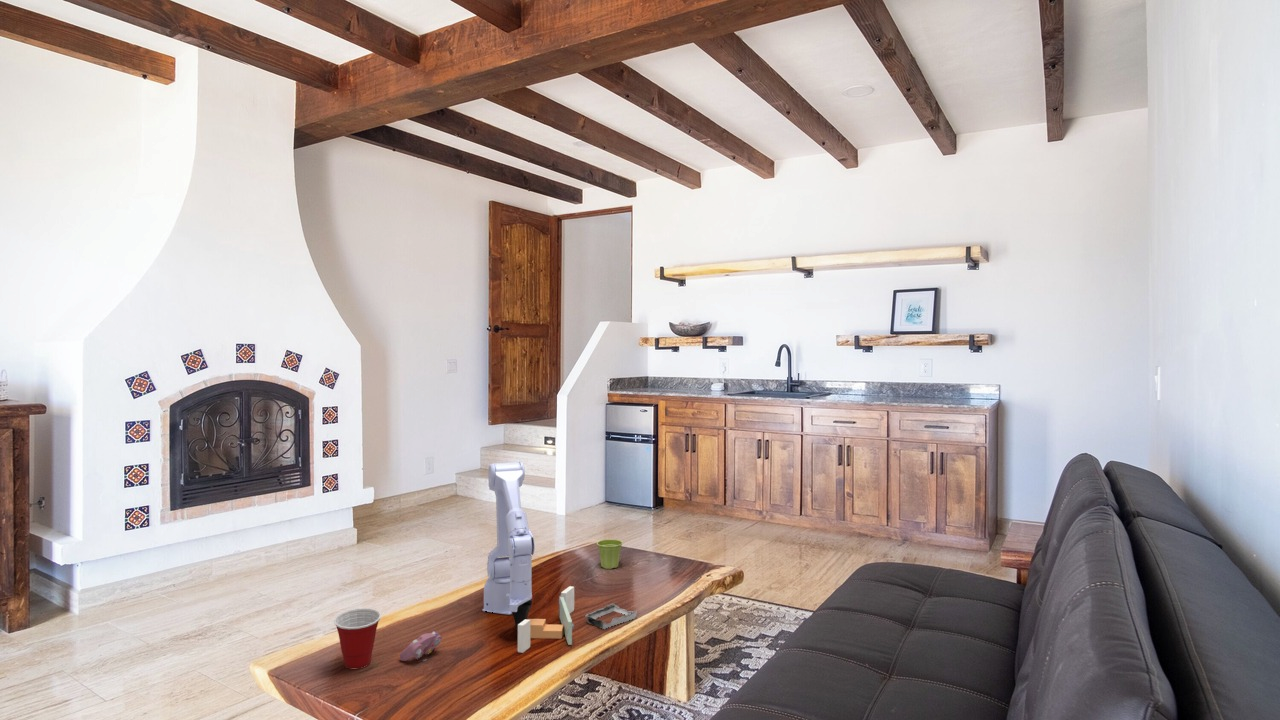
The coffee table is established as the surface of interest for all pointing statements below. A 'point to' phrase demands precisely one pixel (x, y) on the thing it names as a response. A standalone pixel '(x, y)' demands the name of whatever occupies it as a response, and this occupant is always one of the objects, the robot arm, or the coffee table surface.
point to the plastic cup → (357, 635)
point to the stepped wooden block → (545, 629)
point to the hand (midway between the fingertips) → (520, 629)
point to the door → (565, 619)
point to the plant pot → (609, 553)
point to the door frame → (525, 625)
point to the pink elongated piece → (421, 646)
